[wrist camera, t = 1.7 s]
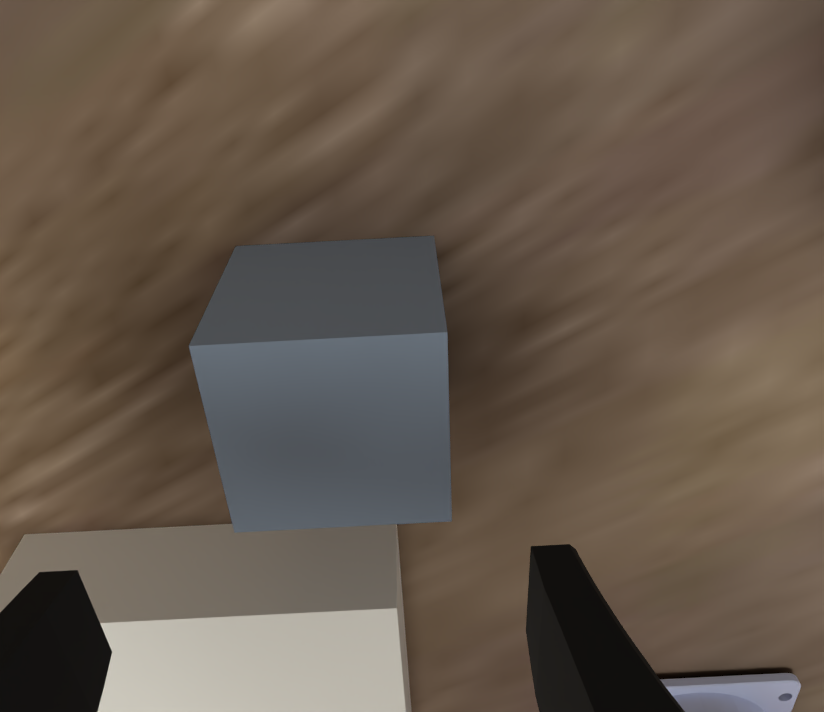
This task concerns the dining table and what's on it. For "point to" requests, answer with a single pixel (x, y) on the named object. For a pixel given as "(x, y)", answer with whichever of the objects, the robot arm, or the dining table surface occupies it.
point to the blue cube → (328, 384)
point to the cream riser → (238, 615)
